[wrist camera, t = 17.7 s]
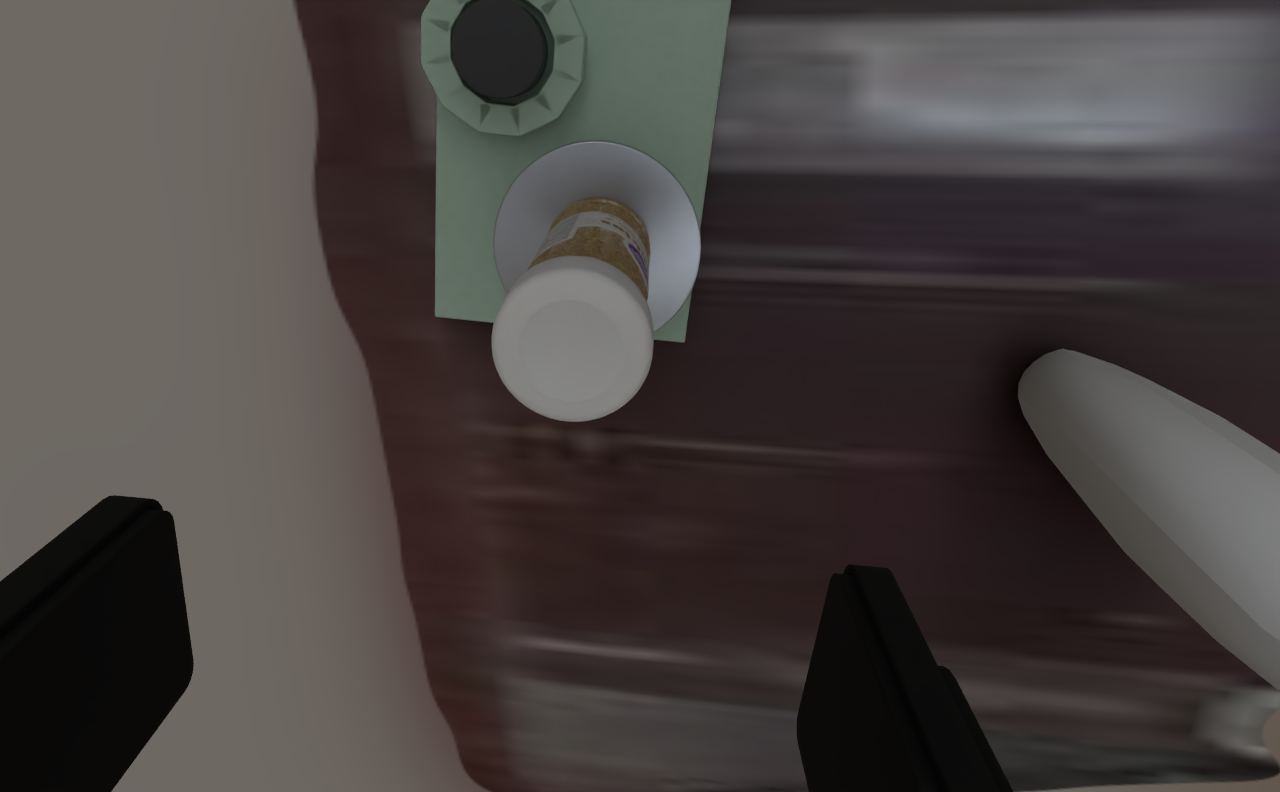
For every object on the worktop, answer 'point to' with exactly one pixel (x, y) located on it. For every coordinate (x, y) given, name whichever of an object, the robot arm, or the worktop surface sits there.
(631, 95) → the scale
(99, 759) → the robot arm
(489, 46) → the power button
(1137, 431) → the soap bottle
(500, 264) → the platter
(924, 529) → the worktop surface
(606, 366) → the sprinkles bottle
